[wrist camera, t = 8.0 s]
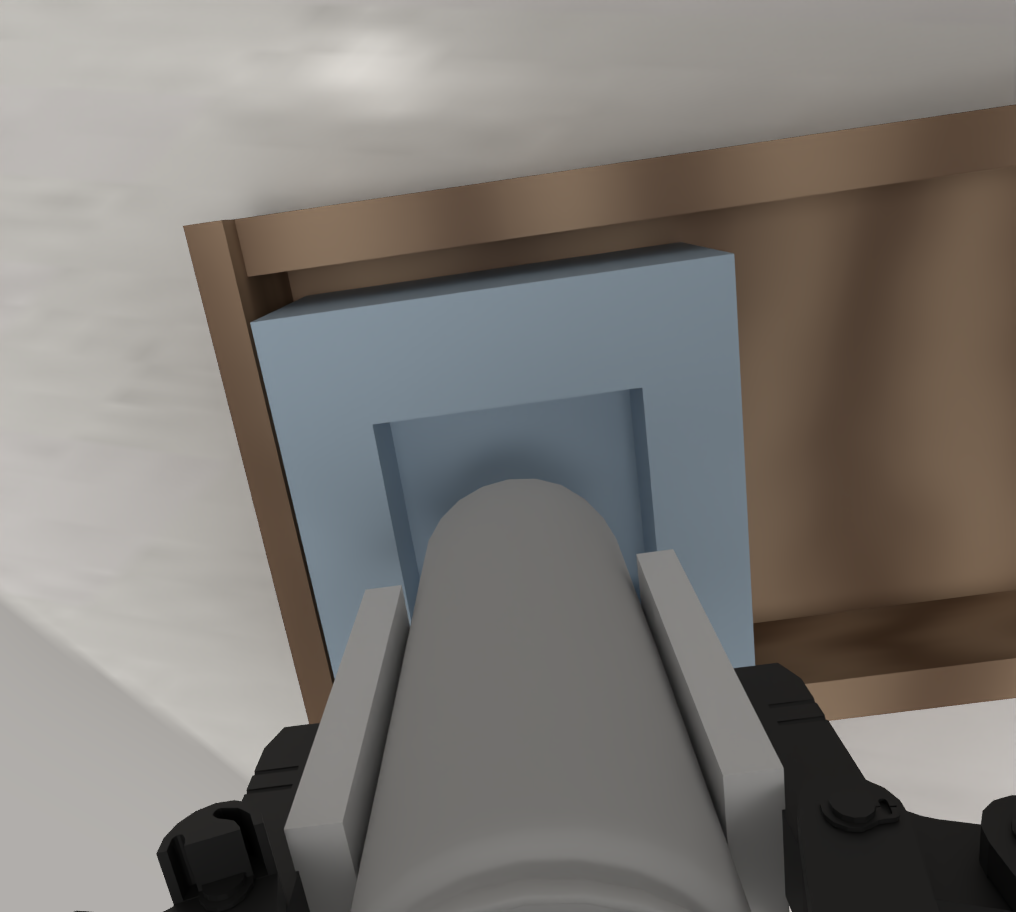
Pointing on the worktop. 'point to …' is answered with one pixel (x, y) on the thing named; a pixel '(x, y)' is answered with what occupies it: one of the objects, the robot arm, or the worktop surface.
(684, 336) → the blue recessed block
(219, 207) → the worktop surface
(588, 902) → the beverage can
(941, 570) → the bay
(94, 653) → the worktop surface
